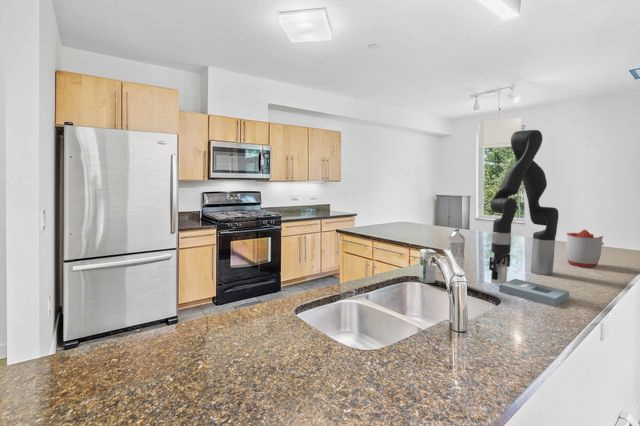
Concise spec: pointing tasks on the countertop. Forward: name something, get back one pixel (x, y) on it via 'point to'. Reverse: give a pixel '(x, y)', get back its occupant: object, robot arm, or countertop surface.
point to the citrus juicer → (583, 249)
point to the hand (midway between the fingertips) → (499, 277)
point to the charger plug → (501, 275)
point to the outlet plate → (534, 292)
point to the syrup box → (426, 266)
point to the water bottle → (457, 247)
